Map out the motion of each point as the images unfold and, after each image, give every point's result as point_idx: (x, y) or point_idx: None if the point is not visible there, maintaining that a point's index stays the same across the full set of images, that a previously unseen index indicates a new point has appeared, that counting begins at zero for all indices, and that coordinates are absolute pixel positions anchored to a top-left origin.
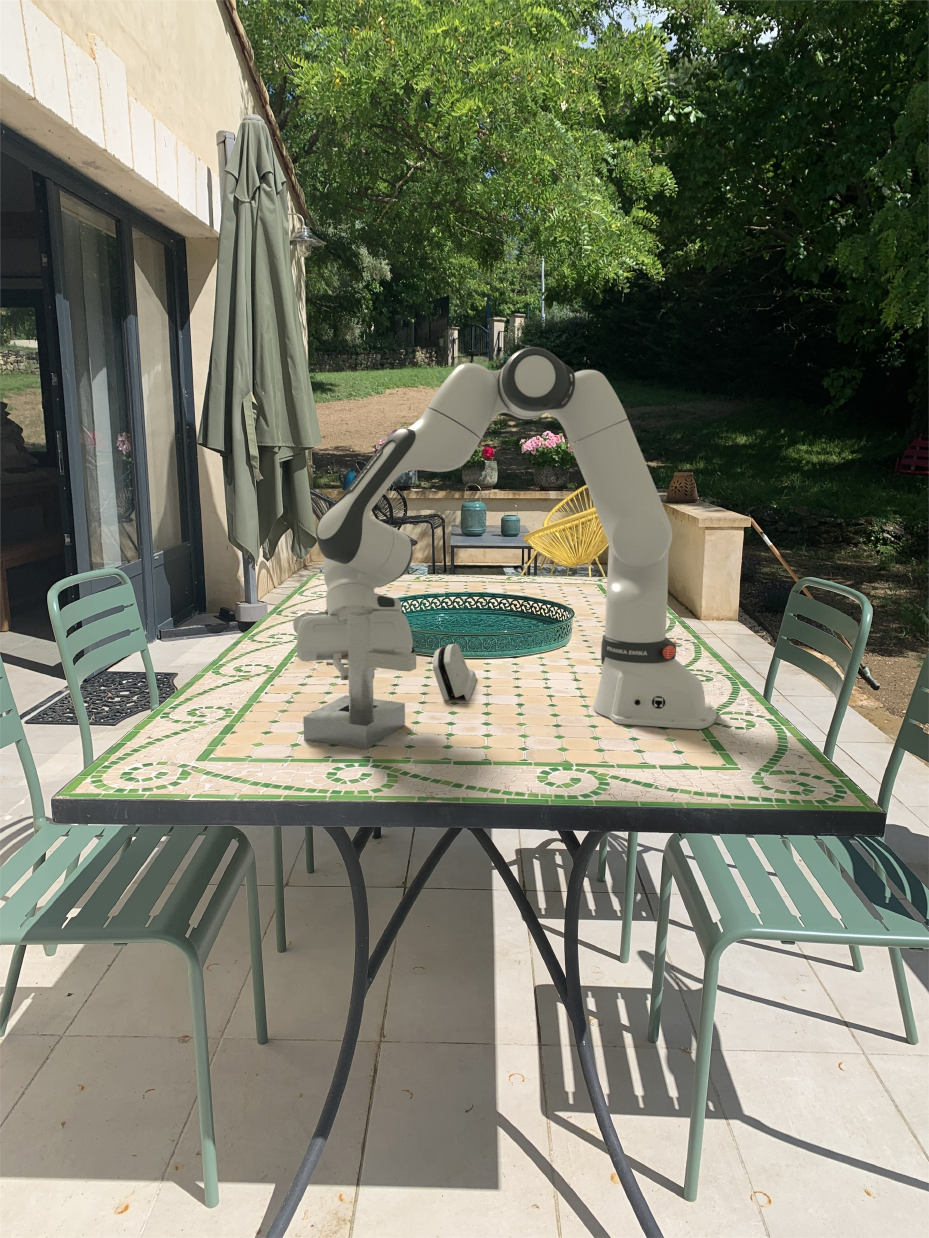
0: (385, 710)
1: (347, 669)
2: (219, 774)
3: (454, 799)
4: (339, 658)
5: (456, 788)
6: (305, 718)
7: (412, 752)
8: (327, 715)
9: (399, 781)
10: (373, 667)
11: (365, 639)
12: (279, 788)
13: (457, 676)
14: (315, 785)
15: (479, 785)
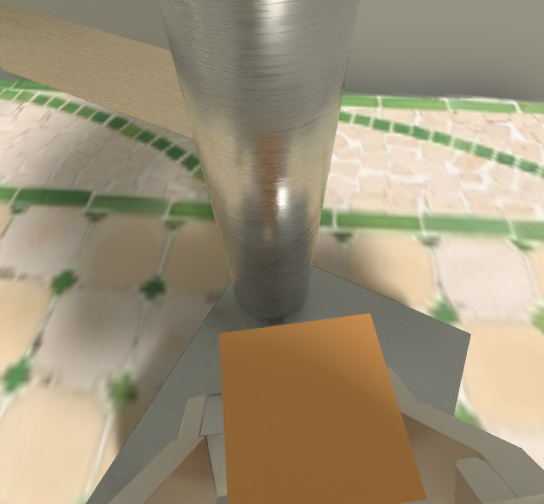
0: (183, 394)
1: None
2: (526, 169)
3: None
4: (469, 462)
5: (123, 115)
6: (459, 331)
7: (155, 252)
8: (390, 343)
9: None
10: (183, 427)
11: None
12: (394, 123)
13: None
14: (340, 129)
15: (84, 122)
